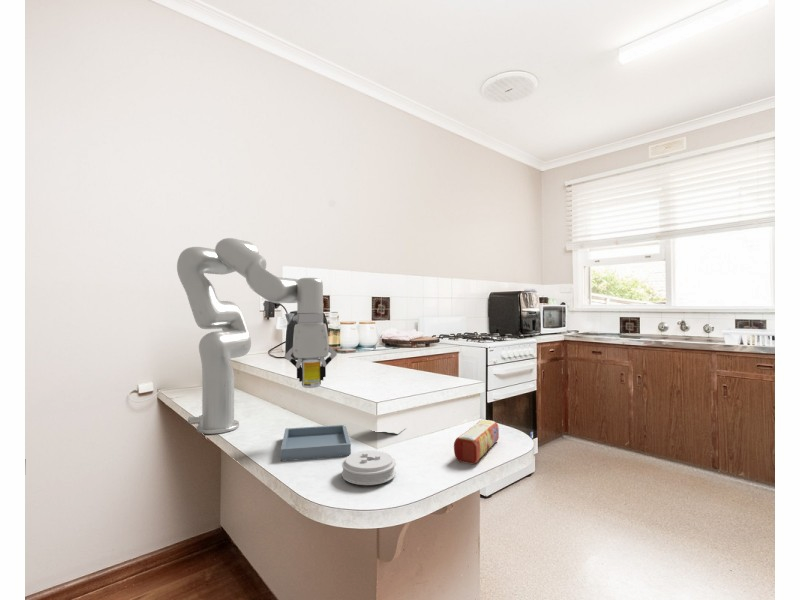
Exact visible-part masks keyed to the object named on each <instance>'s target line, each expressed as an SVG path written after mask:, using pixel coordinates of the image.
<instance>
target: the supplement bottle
mask: <svg viewBox="0 0 800 600" xmlns="http://www.w3.org/2000/svg"><path fill="white" fill-rule="evenodd" d="M321 364H322V363H321V360H320V358H305V359H302V362H301V367H302V381H301V387H303V388H305V389H313V388H319V387H321V385H322V380H321Z"/></svg>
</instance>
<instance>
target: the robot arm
mask: <svg viewBox="0 0 800 600" xmlns="http://www.w3.org/2000/svg"><path fill="white" fill-rule="evenodd" d="M266 269H267V260H266V259H265V257H264V256H262V255H260V254H259V249H258V247H257V246H256V245H255V244H254V243H252V242H250V241H248V240H242V239H238V238H232V237H228V238H227V237H226V238H223V239H221V240H219V241H218V242H217V243H216V245H215V247H214V248H211V247H210V248H209V247H202V246H192V247H187V248H185V249H183V251H182V252H181V253H180V254H179V256H178V259H177V263H176V271H177V276H178V279H179V281H180V283H181V286H182V287H183V289H184V291H185V293H186V297H187V299H188V304H189V306H190V309H191V312H192V316H193V318H194V321H195V323H196V325H197V326H198V327H199V328H200V329H201V330H216V331H211V332H209V333H206V334H204V336H203V337H202V338H201V339H200V340H199V344H198V352H199V357H200V362H201V377H202V378H201V379H202V380H201V381H202V382H201V383H202V387H201V389H202V391H201V392H202V393H201V394H202V397H201V398H202V399H201V401H202V403H201V404H202V406H201V413H202V414H201V415H199V416H189V417H188V419H187V423H188V424H189V425H198V426H196V432H197V433H200V434H206V435H209V434H210V435H214V434H223V433H227V432H231V431H234V430H236V429H238V428H239V427H240V422H239V421H238V420H236V419H235V372H234V367H233V365H232V363H231V361H230V359H236V358H240V357H244V356H246V355H247V354H248V353H249V352H250V350H251V347H252V340H251V336H250V332H249V330H248V327H247V323H246V321H245V318H244V315H243V312H242V310H241V308H240V307H239V306H238V305H237V304H236V303H235V302H234V301H233V302H232V301H228V300H220V299H219V297H218V296H217V292H216V289H215V288H214V285H213V284H212V282H211V281H210V280H209V279H208V278H207V277H206V276H205V274H208V275H209V274H210V275H211V274H212V275H222V276H223V275H227V274H231V273H235V272H236V273H238V274H239V275H241V276H242V277H243V278H245V280H246V284H247V285H248V286H249V288H250V289H251V290H252V291H253V292H254V293H256V294H257V295H259V297H262V299H265V300H266V301H268V302H270V303H275V304H296V303H297V307H296V308H297V311H296V312H297V314H296V315H292V321H295V322H297V324H295V325H294V328H293V335H292V336H293V339H292V340H293V342H292V347H291V348H290V349H289V350H288V351H287V352H286V353H285V355H284V358H285V359H286V360H287V361H289V362H290V363H291V364H292V365H293V367H295V368H296V379H298V381H299V383H302V363H301V362H302V359H305V358H320V360H321V382H322V381H324V378H326V368H327V366H328V364H329V363H330V362H331V361H332V360H333V359H334V358H336V356H338V355H337V354H338V353H337V352H336V351H335V350H334V349H333V348H332V347H331V346H330V345H329V334H328V328H327V324H326V323H324V284H323V281H322V279H321V278H318V277H302V278H299V279H296V278H291V277H290V278H289V277H279V276H276V275H274V274H273V273H272V272H270V271H268V270H266ZM220 329H221V330H220ZM217 330H218V331H217ZM329 353H330V354H329ZM292 355H293V356H292ZM328 355H329V356H328ZM293 357H294V358H293ZM326 357H327V358H326ZM296 359H297V360H296Z"/></svg>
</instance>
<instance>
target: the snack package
mask: <svg viewBox="0 0 800 600" xmlns="http://www.w3.org/2000/svg"><path fill="white" fill-rule="evenodd" d="M499 431H500V429H499V424H498V423H497V422H496V421H494V420H490V419H488V420H487V419H481V420H479V421H478V422H477V423H476V424H475V425H473V426H472V427H470V428H469V429H468V430H467V431H465V432H464V433H462V434H461V435H459V436H458V437H456V439H455V440H454V442H453V452H454V456H455V458H456V460H457V461H459V462H461V463H464V464H470V465H473V464H477V462H479V460H480V459H481V458H482V457H483V456H484V455H485V454H486V453H487V452H488V451H489V449H490V448H492V446H493V445H494V444H495V443H497V442H498V441H499V438H500V433H499ZM496 441H497V442H496Z"/></svg>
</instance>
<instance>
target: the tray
mask: <svg viewBox="0 0 800 600" xmlns="http://www.w3.org/2000/svg"><path fill="white" fill-rule="evenodd" d="M344 425H345V424H338V425H337V424H336V425H333V424H332V425H321V426H319V425H318V426H306V427H304V426H303V427H289V428H287V427H286V428H285V429H284V433H283V437H282V442H281V448H280V461H281V460H287V461H292V460H291V459H300V460H309V459H311V458H313V459H322V458H335V457H336V458H337V457H348V455H351V454H352V446H351V445H352V443H351V440H350V437H349V432H348V429H347V425H346V426H344Z"/></svg>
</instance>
